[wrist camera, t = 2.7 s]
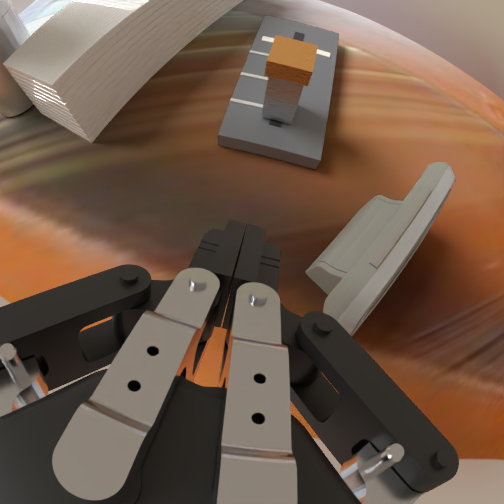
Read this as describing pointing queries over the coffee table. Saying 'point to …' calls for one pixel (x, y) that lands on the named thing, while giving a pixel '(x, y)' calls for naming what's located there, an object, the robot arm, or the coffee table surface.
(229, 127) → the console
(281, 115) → the fader
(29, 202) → the coffee table surface
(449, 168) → the digital clock
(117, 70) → the stack of papers
